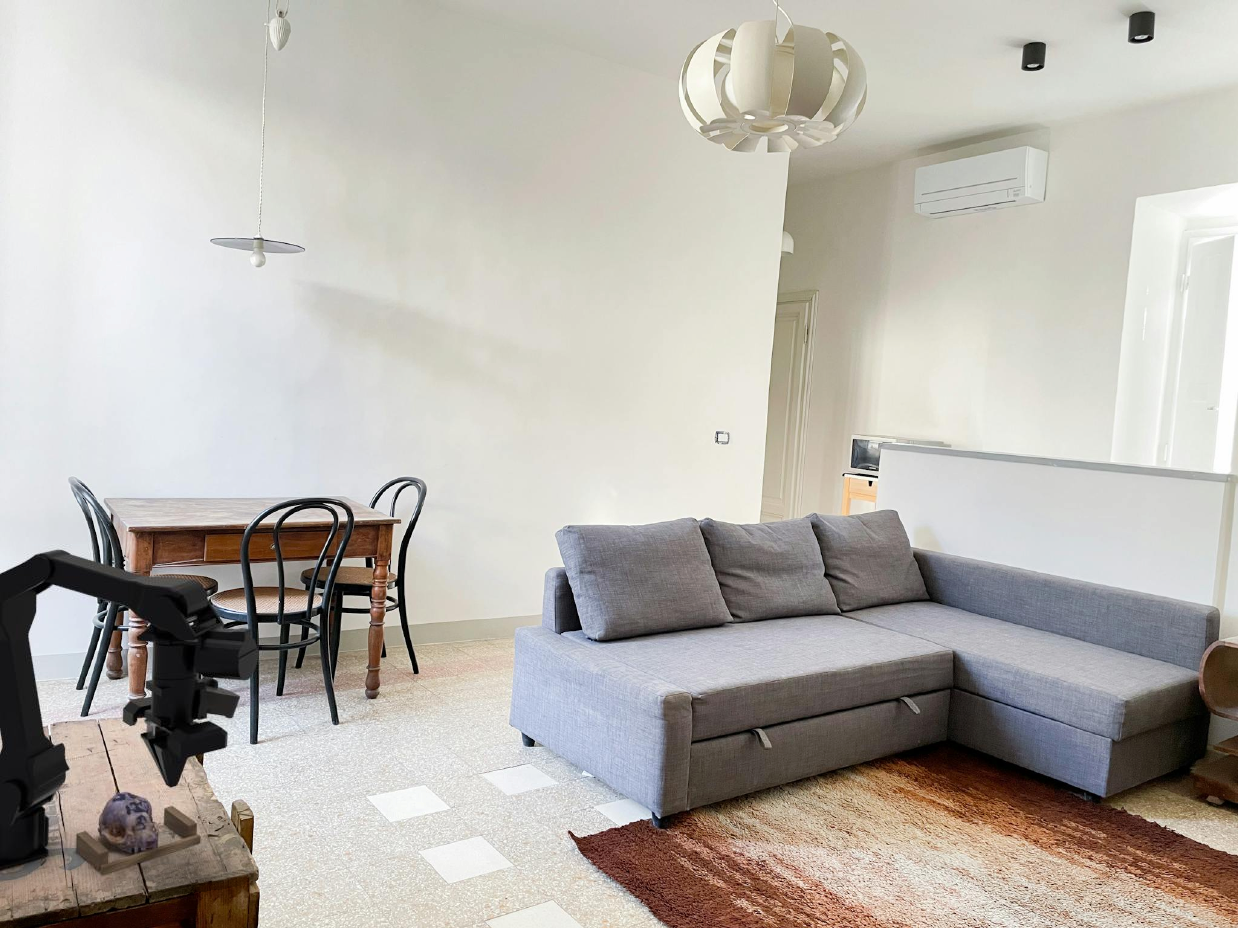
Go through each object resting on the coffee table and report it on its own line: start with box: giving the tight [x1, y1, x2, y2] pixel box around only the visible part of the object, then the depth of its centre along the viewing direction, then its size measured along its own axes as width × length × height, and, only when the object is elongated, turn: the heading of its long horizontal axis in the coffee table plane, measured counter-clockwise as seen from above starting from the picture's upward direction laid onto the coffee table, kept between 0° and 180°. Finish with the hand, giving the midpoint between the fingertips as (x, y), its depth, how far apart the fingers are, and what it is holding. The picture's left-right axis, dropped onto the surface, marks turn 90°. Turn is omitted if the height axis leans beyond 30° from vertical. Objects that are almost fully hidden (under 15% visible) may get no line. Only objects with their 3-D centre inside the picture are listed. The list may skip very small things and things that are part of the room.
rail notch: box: [75, 805, 201, 876], centre depth 132 cm, size 13×9×2 cm
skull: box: [97, 791, 160, 855], centre depth 133 cm, size 12×8×6 cm, turn 41°
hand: (171, 785), depth 125 cm, fingers closed
